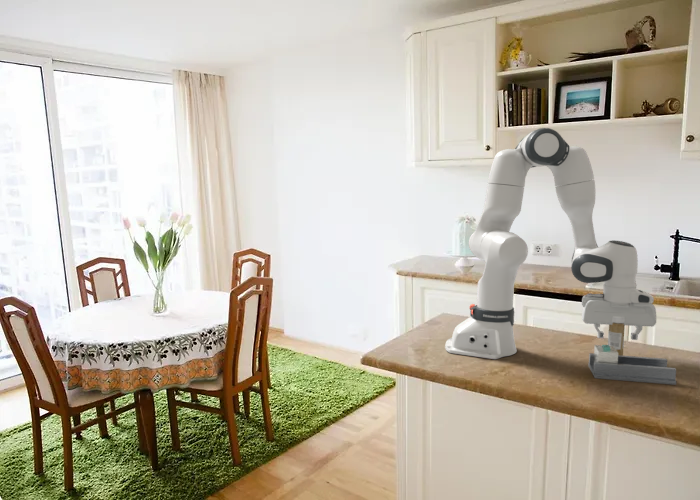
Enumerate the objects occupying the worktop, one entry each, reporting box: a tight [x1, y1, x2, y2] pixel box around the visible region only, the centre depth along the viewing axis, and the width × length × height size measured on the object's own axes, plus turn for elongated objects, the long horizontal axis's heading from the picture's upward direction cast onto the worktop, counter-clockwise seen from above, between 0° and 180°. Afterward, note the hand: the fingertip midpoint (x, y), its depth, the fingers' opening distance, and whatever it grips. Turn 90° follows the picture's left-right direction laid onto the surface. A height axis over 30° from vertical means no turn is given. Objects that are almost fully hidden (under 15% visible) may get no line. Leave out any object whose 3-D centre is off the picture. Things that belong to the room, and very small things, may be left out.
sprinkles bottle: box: [607, 316, 626, 356], centre depth 159 cm, size 5×5×14 cm
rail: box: [587, 344, 677, 386], centre depth 146 cm, size 20×10×8 cm, turn 75°
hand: (617, 338), depth 160 cm, fingers open, 8 cm apart
